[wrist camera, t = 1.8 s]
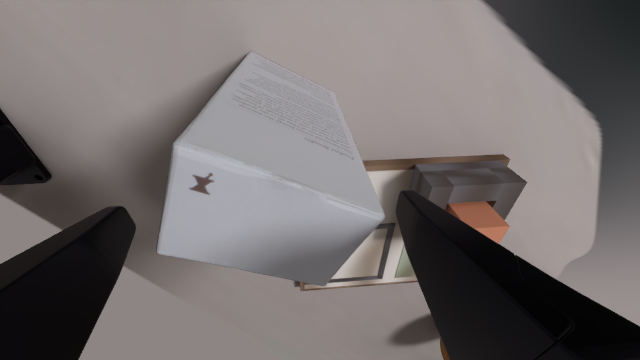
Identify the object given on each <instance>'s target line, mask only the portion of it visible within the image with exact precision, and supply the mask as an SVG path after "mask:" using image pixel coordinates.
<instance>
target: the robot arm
mask: <svg viewBox="0 0 640 360" xmlns="http://www.w3.org/2000/svg"><path fill="white" fill-rule="evenodd" d="M50 179H51V175H50V173H49V172H48V171H47V169H46V168H45V167H44V166H43V164H42V163H41V162H40V160H39V159H38V158H37V156H36V155H35V154H34V153H33V151H32V150H31V149H30V147H29V146H28V145H27V144H26V142H25V141H24V140H23V138H22V137H21V136H20V134H19V133H18V132H17V131H16V129H15V128H14V127H13V125H12V124H11V123H10V122H9V120H8V119H7V118H6V116H5V115H4V114H3V113H2V111H1V110H0V185H13V184H34V183H45V182H47V181H48V180H50ZM395 211H396V217H397V221H398V224H399V228H400V231H401V235H402V238H403V242H404V246H405V249H406V252H407V255H408V258H409V261H410V263H411V265H412V268H413V270H414V273H415V275H416V278H417V280H418V283H419V285H420V287H421V290H422V292H423V295H424V297H425V300H426V302H427V304H428V307H429V309H430V312H431V314H432V317H433V319H434V322H435V324H436V326H437V329H438V331H439V334H440V336H441V339H442V341H443V344H444V346H445V348H446V351H447V353H448V356H449V358H450V360H640V326H638V325H636V324H635V323H633V322H631V321H629V320H627V319H626V318H624V317H622V316H620V315H618V314H617V313H615V312H613V311H611V310H609V309H608V308H606V307H604V306H602V305H600V304H599V303H597V302H595V301H593V300H591V299H590V298H588V297H586V296H584V295H582V294H581V293H578V292H577V291H575V290H574V289H572V288H570V287H568V286H567V285H565V284H563V283H561V282H560V281H558V280H556V279H554V278H553V277H551V276H550V275H548V274H546V273H545V272H543V271H541V270H540V269H538V268H536V267H535V266H533V265H531V264H530V263H528V262H527V261H525V260H524V259H522V258H520V257H519V256H517V255H515V256H514V253H512V252H511V251H509V250H508V249H506V248H504V247H503V246H501V245H500V244H498V243H496V242H495V241H493V240H492V239H490V238H488V237H487V236H485V235H484V234H482V233H481V232H479V231H477V230H476V229H474V228H473V227H471V226H469V225H468V224H466V223H465V222H463V221H462V220H460V219H458V218H457V217H455V216H454V215H452V214H450V213H449V212H447V211H446V210H444V209H442V208H441V207H439V206H438V205H436V204H435V203H433V202H431V201H430V200H428V199H427V198H425V197H423V196H422V195H420V194H419V193H417V192H415V191H414V190H402V191H400V193H399V196H398V200H397V205H396V210H395ZM135 230H136V226H135V223H134V221H133V220H132V218H131V217H130V215H129V213H128V212H127V210H126V209H125V208H124V207H122V206H110V207H106V208H104V209H102V210H100V211H98V212H96V213H95V214H93V215H91V216H89V217H87V218H85V219H83V220H82V221H80V222H78V223H76V224H74V225H72V226H70V227H69V228H67V229H65V230H63V231H61V232H59V233H57V234H55V235H54V236H52V237H50V238H48V239H46V240H44V241H43V242H41V243H39V244H37V245H35V246H33V247H31V248H30V249H28V250H26V251H24V252H22V253H20V254H18V255H16V256H14V257H13V258H11V259H9V260H7V261H5V262H4V263H1V264H0V360H78V359H79V357H80V355H81V353H82V351H83V349H84V347H85V345H86V343H87V341H88V339H89V337H90V335H91V333H92V331H93V329H94V327H95V324H96V322H97V320H98V318H99V316H100V314H101V312H102V310H103V308H104V306H105V304H106V302H107V300H108V298H109V296H110V294H111V291H112V290H113V288H114V285H115V283H116V281H117V279H118V277H119V275H120V272H121V270H122V267H123V264H124V262H125V259H126V256H127V253H128V250H129V248H130V245H131V242H132V239H133V237H134V234H135Z"/></svg>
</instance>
